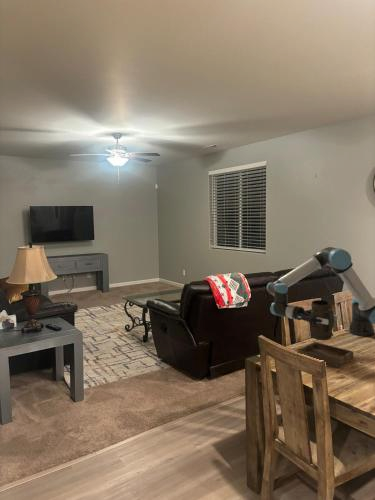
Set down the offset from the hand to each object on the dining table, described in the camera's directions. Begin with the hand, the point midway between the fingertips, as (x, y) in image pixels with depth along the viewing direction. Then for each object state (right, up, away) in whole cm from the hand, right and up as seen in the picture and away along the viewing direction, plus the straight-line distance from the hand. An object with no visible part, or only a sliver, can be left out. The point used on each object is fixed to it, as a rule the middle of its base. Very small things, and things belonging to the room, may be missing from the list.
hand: (332, 320), depth 196 cm
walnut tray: (-2, -21, +5) cm, 22 cm away
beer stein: (-3, -11, +4) cm, 12 cm away
